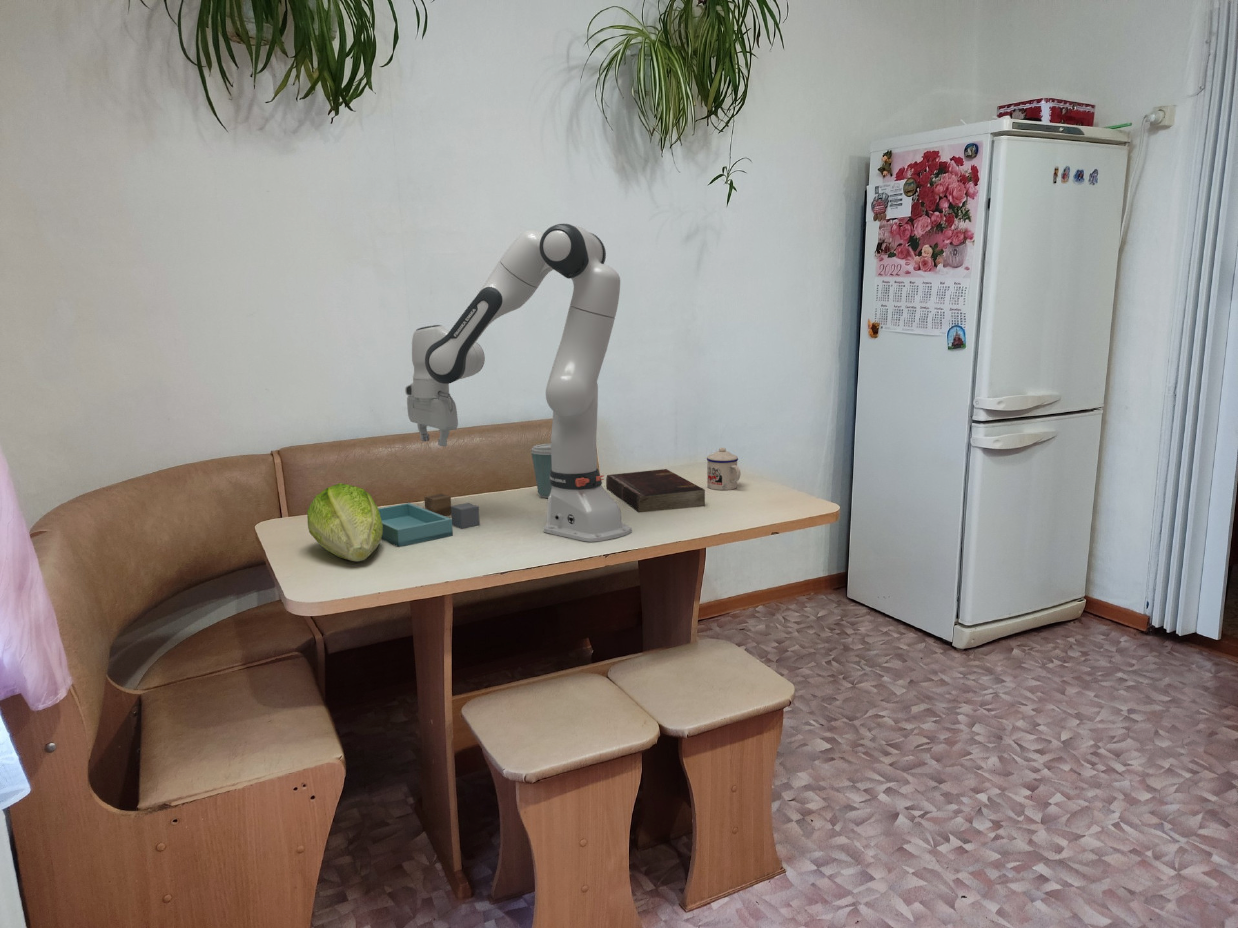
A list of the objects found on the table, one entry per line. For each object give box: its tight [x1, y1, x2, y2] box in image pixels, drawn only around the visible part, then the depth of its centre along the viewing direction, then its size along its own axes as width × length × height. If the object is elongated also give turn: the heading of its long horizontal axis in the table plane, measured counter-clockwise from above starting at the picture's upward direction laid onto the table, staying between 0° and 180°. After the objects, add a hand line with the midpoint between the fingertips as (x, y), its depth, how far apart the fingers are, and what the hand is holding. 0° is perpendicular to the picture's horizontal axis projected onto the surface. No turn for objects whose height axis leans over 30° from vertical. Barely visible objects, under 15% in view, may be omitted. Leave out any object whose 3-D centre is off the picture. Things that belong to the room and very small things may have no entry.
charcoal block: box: [450, 502, 481, 530], centre depth 216 cm, size 5×5×5 cm
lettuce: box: [306, 482, 383, 562], centre depth 194 cm, size 15×24×16 cm
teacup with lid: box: [706, 447, 741, 491], centre depth 252 cm, size 12×9×12 cm
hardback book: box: [605, 468, 706, 513], centre depth 243 cm, size 29×19×5 cm, turn 18°
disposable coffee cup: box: [530, 442, 552, 499], centre depth 245 cm, size 11×11×15 cm
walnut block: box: [423, 492, 452, 517], centre depth 227 cm, size 5×5×5 cm
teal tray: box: [378, 502, 454, 548], centre depth 211 cm, size 22×14×4 cm, turn 40°
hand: (433, 443), depth 224 cm, fingers open, 8 cm apart
